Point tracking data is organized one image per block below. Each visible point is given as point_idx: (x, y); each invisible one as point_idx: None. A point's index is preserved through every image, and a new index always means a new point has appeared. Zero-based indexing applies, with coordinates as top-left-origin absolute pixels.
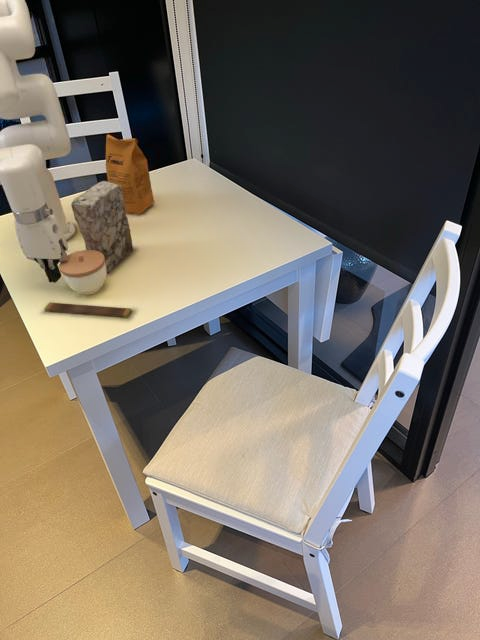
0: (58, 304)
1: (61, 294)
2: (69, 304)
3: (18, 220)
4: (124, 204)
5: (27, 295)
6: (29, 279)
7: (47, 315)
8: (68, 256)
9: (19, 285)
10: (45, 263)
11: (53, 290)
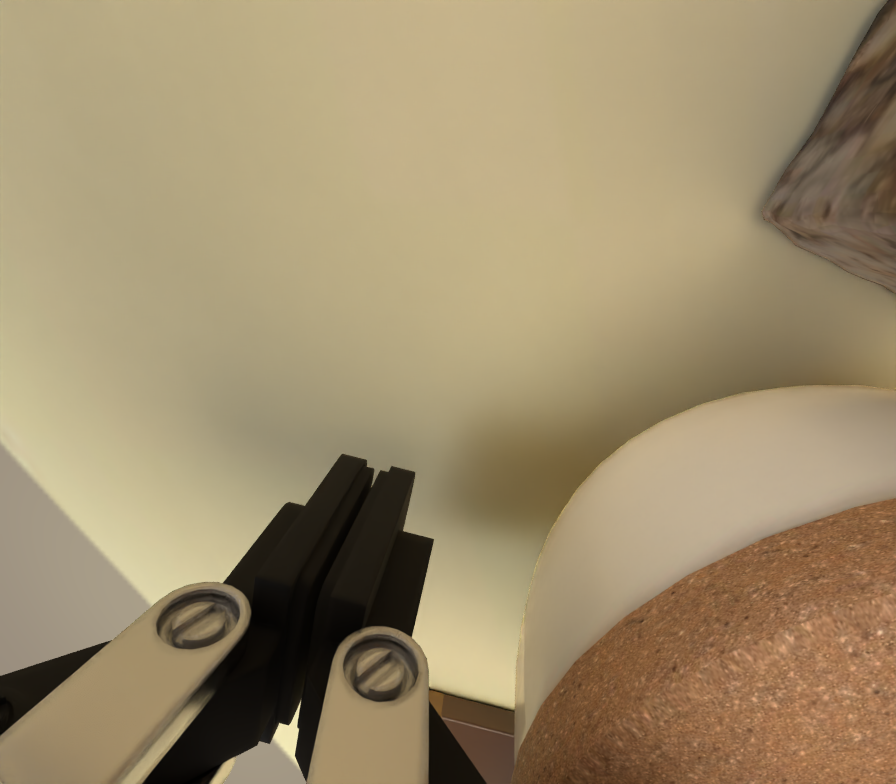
0: (486, 742)
1: (458, 578)
2: None
3: None
4: None
5: (169, 544)
6: (49, 305)
7: None
8: (677, 782)
9: (15, 394)
10: (203, 754)
11: None
